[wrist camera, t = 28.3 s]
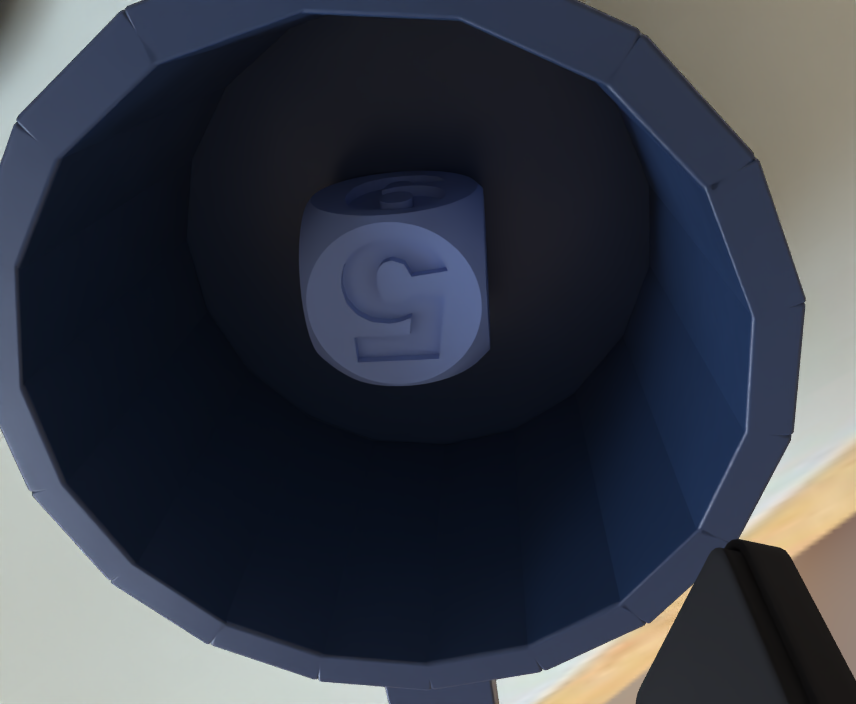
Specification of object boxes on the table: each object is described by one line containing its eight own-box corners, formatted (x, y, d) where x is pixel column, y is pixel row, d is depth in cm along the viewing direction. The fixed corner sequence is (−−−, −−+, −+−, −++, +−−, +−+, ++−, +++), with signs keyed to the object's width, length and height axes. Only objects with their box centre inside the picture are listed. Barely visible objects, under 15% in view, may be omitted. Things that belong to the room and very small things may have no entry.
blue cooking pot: (681, -239, 15) (878, -452, 8) (674, 508, 23) (765, 764, 16) (56, -126, 17) (-295, -206, 9) (257, 536, 25) (159, 779, 18)
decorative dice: (344, 319, 21) (315, 391, 17) (324, 175, 19) (286, 222, 15) (489, 312, 20) (491, 385, 17) (482, 164, 19) (482, 210, 15)
